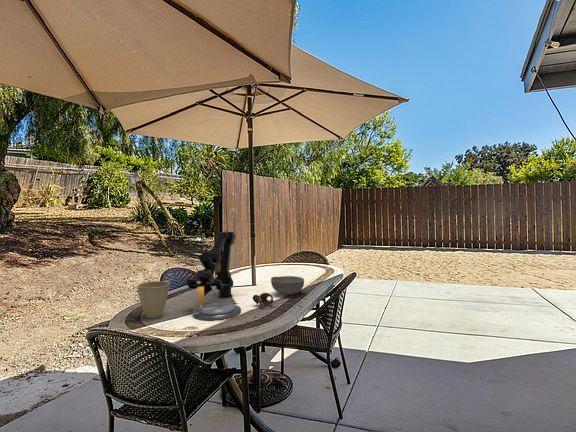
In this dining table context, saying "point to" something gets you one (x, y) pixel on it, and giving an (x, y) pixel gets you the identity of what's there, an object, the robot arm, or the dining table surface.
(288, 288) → the bowl
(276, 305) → the dining table surface
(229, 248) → the robot arm
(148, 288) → the plant pot
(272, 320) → the dining table surface
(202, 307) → the dial
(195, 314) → the dial plate
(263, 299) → the brown animal figurine
